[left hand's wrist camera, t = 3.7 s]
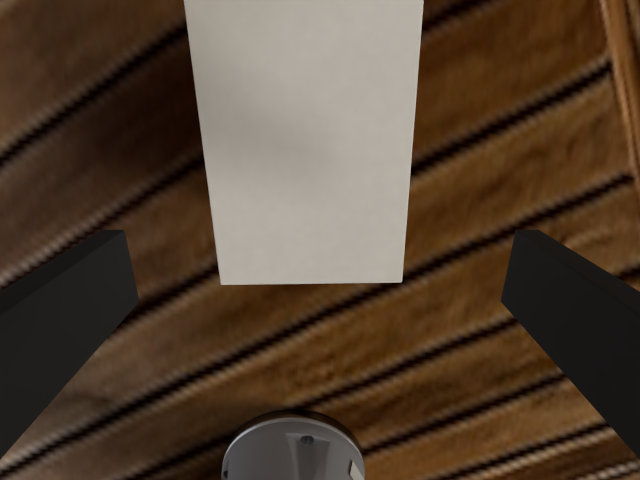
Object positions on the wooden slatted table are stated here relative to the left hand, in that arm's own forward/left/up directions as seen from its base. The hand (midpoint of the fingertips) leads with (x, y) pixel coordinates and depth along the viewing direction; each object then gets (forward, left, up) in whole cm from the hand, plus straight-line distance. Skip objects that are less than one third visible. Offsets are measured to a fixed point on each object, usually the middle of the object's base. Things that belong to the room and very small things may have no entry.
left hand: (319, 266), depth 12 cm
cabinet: (+2, +5, -17) cm, 18 cm away
